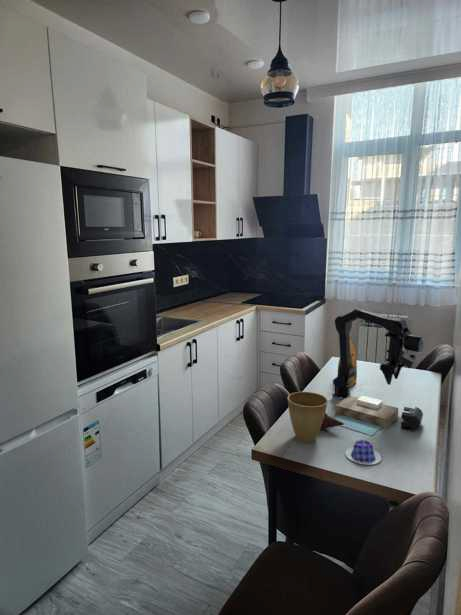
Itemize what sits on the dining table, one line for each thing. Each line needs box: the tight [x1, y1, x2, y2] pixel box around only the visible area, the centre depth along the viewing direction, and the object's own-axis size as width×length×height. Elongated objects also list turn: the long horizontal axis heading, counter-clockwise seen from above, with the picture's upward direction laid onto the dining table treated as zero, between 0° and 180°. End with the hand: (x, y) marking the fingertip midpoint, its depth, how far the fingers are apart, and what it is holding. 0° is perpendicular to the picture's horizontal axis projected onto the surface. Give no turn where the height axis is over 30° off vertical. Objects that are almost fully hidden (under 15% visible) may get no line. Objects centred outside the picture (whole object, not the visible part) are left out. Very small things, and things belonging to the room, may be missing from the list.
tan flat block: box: [335, 395, 399, 429], centre depth 174 cm, size 22×14×4 cm, turn 50°
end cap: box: [400, 406, 424, 432], centre depth 164 cm, size 10×7×7 cm
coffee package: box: [337, 340, 358, 387], centre depth 213 cm, size 10×12×22 cm
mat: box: [333, 414, 382, 437], centre depth 165 cm, size 18×9×1 cm, turn 50°
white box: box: [357, 395, 384, 409], centre depth 176 cm, size 9×6×2 cm, turn 50°
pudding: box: [345, 439, 382, 466], centre depth 142 cm, size 12×12×5 cm
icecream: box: [320, 412, 344, 431], centre depth 162 cm, size 7×7×15 cm
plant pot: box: [287, 391, 328, 443], centre depth 154 cm, size 15×15×16 cm
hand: (392, 381), depth 178 cm, fingers open, 9 cm apart
